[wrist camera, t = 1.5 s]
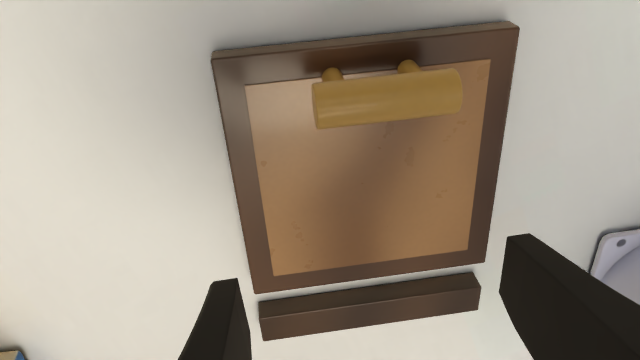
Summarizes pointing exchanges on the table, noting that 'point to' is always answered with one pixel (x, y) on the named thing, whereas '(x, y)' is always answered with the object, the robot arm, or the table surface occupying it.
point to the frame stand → (368, 306)
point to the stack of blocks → (11, 355)
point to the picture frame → (366, 151)
